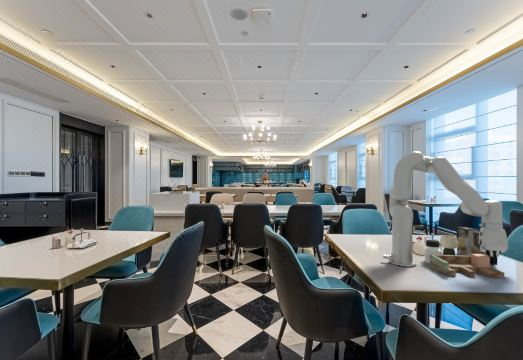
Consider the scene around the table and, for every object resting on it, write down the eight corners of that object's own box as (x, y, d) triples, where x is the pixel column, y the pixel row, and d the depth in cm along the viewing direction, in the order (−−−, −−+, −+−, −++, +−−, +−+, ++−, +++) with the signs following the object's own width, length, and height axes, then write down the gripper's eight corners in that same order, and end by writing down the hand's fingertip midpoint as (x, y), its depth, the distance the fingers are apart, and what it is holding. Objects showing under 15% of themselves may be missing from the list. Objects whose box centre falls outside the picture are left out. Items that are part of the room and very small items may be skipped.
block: (478, 267, 122) (478, 256, 122) (471, 263, 127) (470, 253, 127) (489, 267, 121) (489, 256, 121) (482, 264, 126) (481, 254, 126)
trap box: (446, 275, 117) (445, 262, 117) (430, 266, 131) (429, 254, 131) (504, 278, 114) (504, 264, 114) (481, 268, 128) (481, 256, 128)
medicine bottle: (441, 265, 133) (441, 242, 133) (425, 263, 136) (424, 240, 137) (440, 261, 139) (440, 239, 139) (424, 259, 142) (424, 238, 143)
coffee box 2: (495, 265, 133) (494, 233, 133) (481, 264, 134) (480, 233, 134) (484, 259, 142) (483, 230, 142) (470, 259, 143) (470, 230, 143)
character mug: (463, 261, 138) (463, 237, 138) (452, 262, 137) (452, 238, 137) (446, 256, 149) (445, 234, 149) (435, 257, 148) (435, 234, 148)
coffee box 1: (456, 253, 156) (455, 226, 157) (466, 253, 156) (466, 226, 157) (468, 257, 147) (467, 229, 147) (479, 257, 147) (478, 229, 147)
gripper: (480, 227, 121) (481, 266, 120) (515, 227, 119) (516, 267, 118) (469, 224, 128) (470, 261, 128) (502, 225, 126) (503, 262, 126)
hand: (492, 264), depth 123 cm, fingers closed
